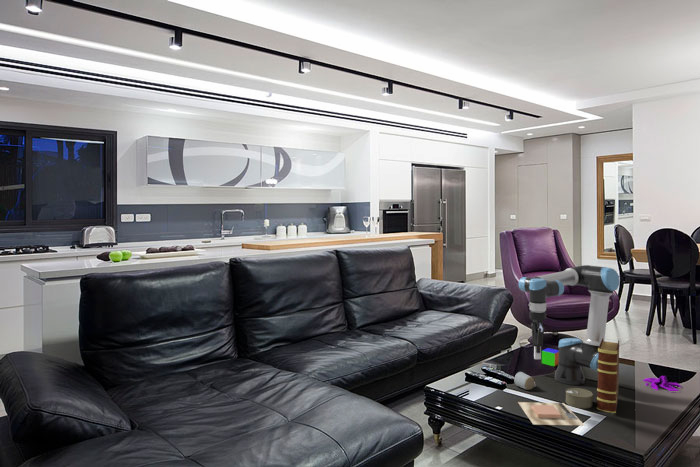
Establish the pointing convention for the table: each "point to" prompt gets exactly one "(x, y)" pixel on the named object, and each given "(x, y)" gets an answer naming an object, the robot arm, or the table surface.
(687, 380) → the table surface
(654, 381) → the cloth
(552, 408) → the tile
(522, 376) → the grey cylinder
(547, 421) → the board
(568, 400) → the beige short cylinder
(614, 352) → the decorative book
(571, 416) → the turner
